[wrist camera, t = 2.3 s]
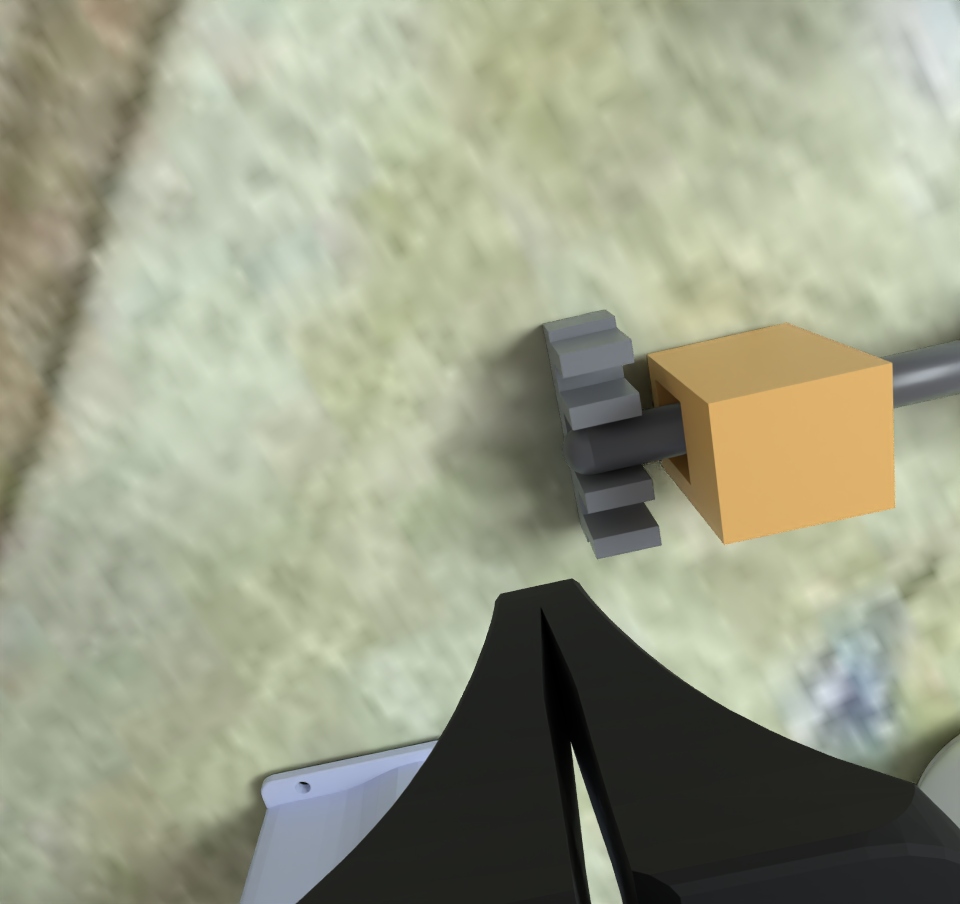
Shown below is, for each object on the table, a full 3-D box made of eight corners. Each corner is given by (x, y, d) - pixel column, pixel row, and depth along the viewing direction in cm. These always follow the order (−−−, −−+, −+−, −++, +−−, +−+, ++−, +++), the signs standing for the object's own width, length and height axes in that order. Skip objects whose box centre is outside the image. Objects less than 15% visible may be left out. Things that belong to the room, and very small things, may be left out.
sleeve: (662, 466, 21) (724, 544, 17) (646, 354, 20) (708, 403, 15) (794, 437, 21) (895, 507, 16) (786, 322, 20) (892, 362, 15)
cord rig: (571, 526, 22) (591, 582, 19) (532, 326, 20) (548, 351, 17) (1149, 400, 22) (1270, 435, 18) (1174, 179, 19) (1317, 176, 16)
